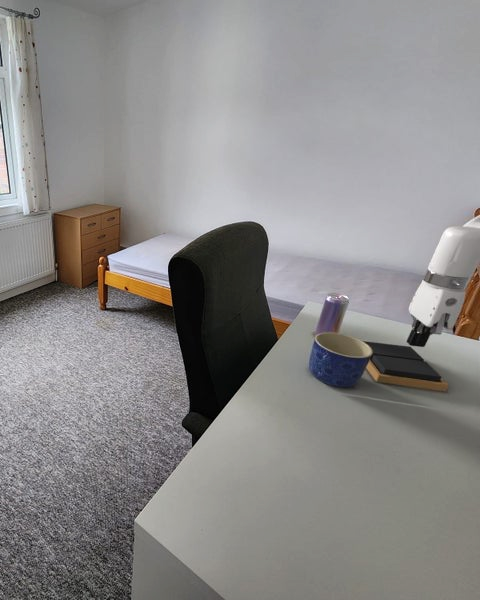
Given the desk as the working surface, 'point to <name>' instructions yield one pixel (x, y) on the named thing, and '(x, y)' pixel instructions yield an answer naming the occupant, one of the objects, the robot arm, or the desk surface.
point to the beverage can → (332, 313)
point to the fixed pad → (393, 351)
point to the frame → (406, 380)
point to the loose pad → (405, 368)
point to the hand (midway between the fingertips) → (415, 344)
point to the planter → (338, 359)
